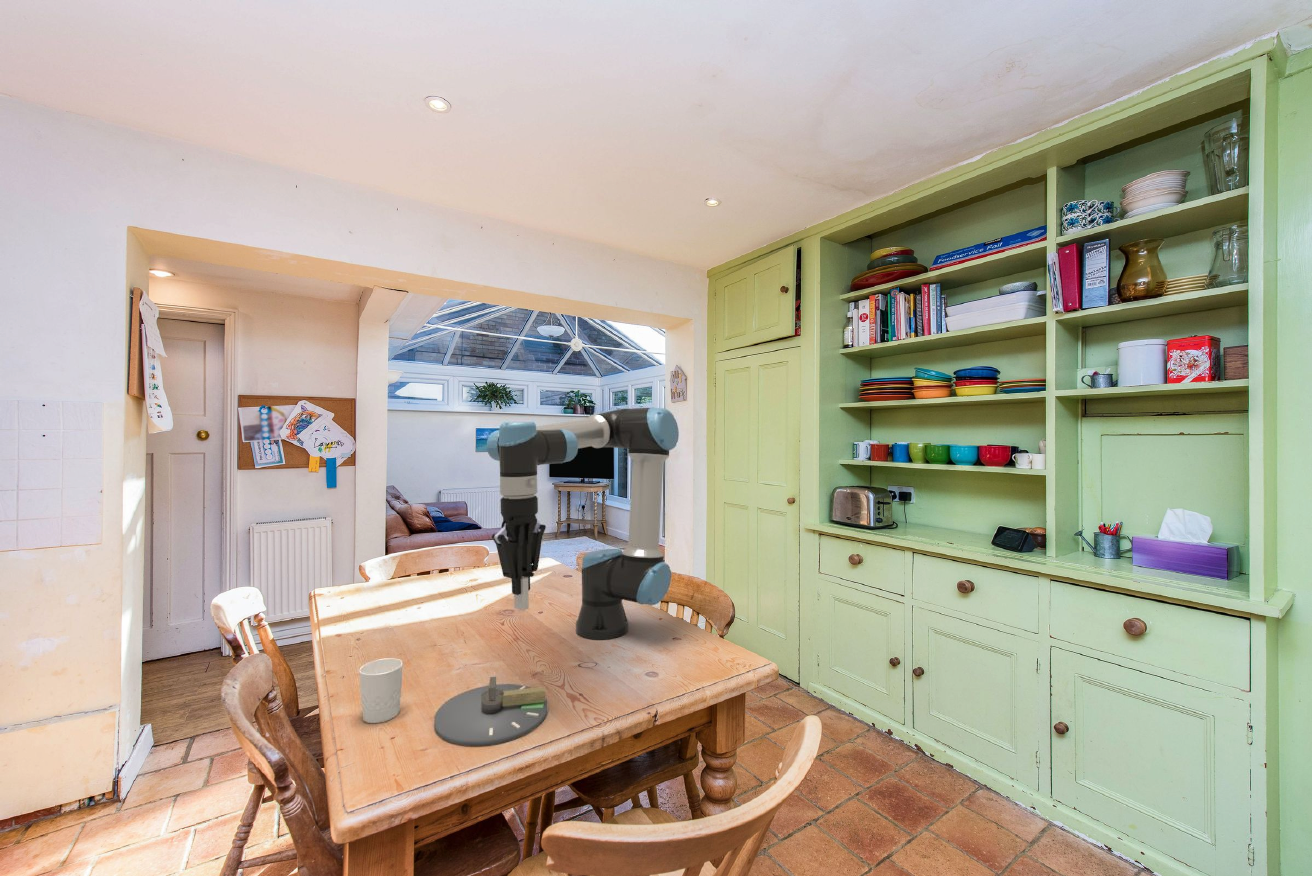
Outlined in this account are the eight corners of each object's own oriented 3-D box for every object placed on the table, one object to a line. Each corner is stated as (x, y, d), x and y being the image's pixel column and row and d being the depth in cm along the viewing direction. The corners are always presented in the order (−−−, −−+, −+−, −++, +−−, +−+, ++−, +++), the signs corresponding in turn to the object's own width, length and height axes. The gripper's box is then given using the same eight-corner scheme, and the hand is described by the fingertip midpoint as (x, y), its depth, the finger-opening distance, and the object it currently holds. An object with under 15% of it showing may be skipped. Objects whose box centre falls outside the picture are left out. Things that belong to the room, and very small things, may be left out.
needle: (480, 715, 107) (480, 689, 107) (482, 703, 112) (482, 678, 112) (545, 707, 110) (545, 682, 110) (544, 696, 115) (544, 671, 115)
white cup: (369, 705, 114) (369, 658, 114) (408, 704, 115) (408, 657, 114) (352, 726, 106) (351, 675, 106) (393, 724, 107) (393, 674, 107)
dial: (416, 714, 110) (416, 707, 110) (512, 680, 126) (512, 673, 126) (465, 761, 95) (465, 753, 95) (568, 715, 110) (568, 708, 110)
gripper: (507, 501, 105) (509, 621, 106) (554, 493, 116) (556, 602, 117) (481, 498, 109) (484, 614, 110) (529, 490, 120) (531, 596, 121)
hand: (521, 607), depth 113 cm, fingers closed
